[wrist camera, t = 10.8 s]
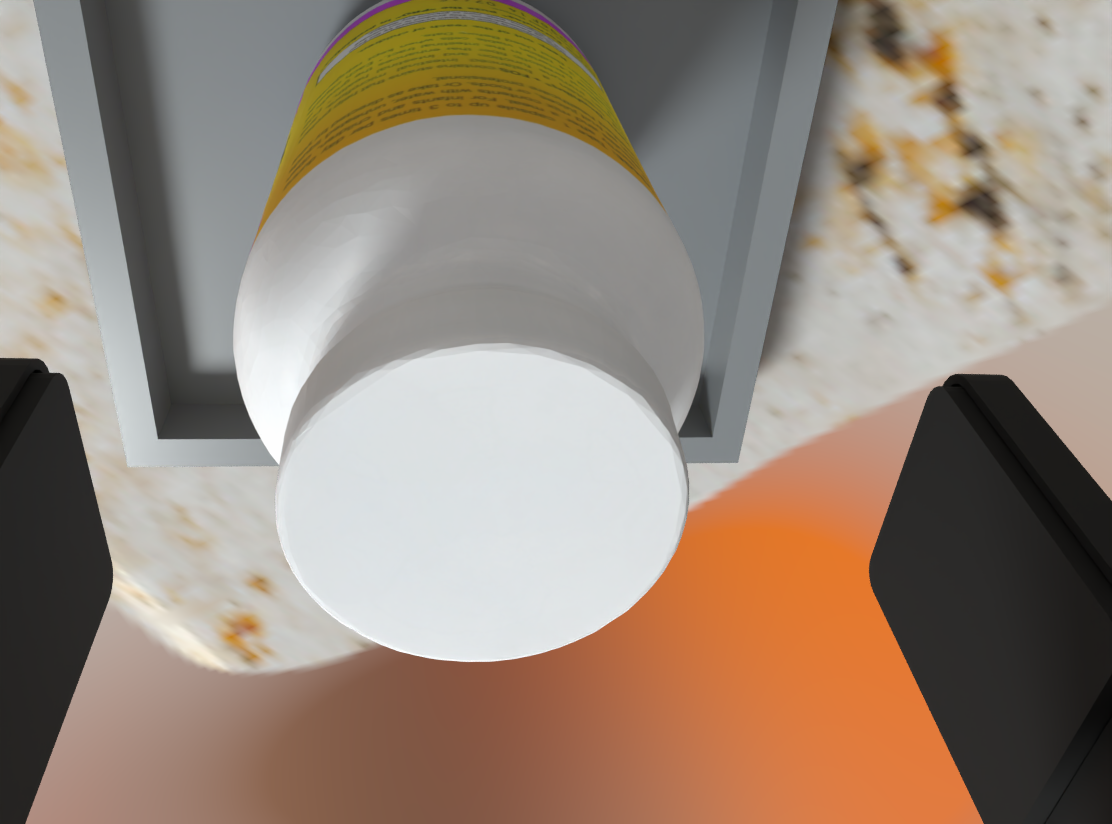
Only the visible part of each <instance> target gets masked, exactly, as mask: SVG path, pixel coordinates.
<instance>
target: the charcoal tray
mask: <svg viewBox="0 0 1112 824" xmlns="http://www.w3.org/2000/svg"><path fill="white" fill-rule="evenodd" d="M381 1H383V0H33V2H34V6H35V11H36V16H37V21H38V26H39V31H40V36H41V41H42V46H43V51H44V56H45V61H46V66H47V71H48V76H49V81H50V86H51V91H52V96H53V100H54V105H55V110H56V115H57V120H58V125H59V130H60V135H61V140H62V145H63V150H64V155H65V160H66V165H67V170H68V175H69V180H70V185H71V190H72V194H73V199H74V204H75V209H76V214H77V219H78V224H79V229H80V234H81V239H82V244H83V249H84V254H85V259H86V264H87V269H88V274H89V279H90V283H91V288H92V293H93V298H94V303H95V308H96V313H97V318H98V323H99V328H100V333H101V338H102V343H103V348H104V353H105V358H106V363H107V368H108V373H109V377H110V382H111V387H112V392H113V397H114V402H115V407H116V412H117V417H118V422H119V427H120V432H121V437H122V442H123V447H124V452H125V457H126V462H127V466H128V467H206V466H279V464H278V463H277V462H276V461H275V459H274V458H273V457H272V456H271V455H270V453H269V451H268V450H267V448H266V446H265V445H264V443H263V442H262V440H261V438H260V436H259V434H258V432H257V431H256V429H255V427H254V425H253V423H252V420H251V418H250V416H249V414H248V411H247V408H246V406H245V403H244V400H243V397H242V393H241V390H240V386H239V382H238V378H237V371H236V365H235V358H234V352H233V329H234V316H235V308H236V302H237V297H238V293H239V288H240V284H241V279H242V276H243V273H244V270H245V266H246V263H247V260H248V257H249V254H250V251H251V248H252V245H253V243H254V240H255V237H256V234H257V231H258V228H259V225H260V222H261V219H262V215H263V212H264V209H265V206H266V203H267V201H268V198H269V195H270V192H271V189H272V186H273V183H274V180H275V177H276V174H277V171H278V168H279V165H280V161H281V158H282V155H283V153H284V149H285V146H286V142H287V139H288V136H289V133H290V130H291V127H292V124H293V120H294V117H295V114H296V111H297V108H298V105H299V102H300V99H301V97H302V94H303V91H304V89H305V86H306V84H307V81H308V79H309V77H310V74H311V72H312V70H313V68H314V66H315V65H316V63H317V61H318V59H319V57H320V56H321V54H322V53H323V51H324V50H325V48H326V47H327V46H328V44H329V43H330V42H331V41H332V40H333V38H334V37H335V36H336V35H337V34H338V33H339V32H340V31H341V30H342V29H343V28H344V27H345V26H346V25H347V24H348V23H349V22H350V21H352V20H353V19H354V18H356V17H357V16H358V15H360V14H361V13H363V12H364V11H366V10H367V9H369V8H370V7H372V6H374V5H375V4H377V3H379V2H381ZM521 1H523V2H525V3H527V4H529V5H531V6H532V7H534V8H536V9H537V10H539V11H540V12H542V13H543V14H544V15H546V16H547V17H549V18H550V19H551V20H553V21H554V22H555V23H556V24H557V25H558V26H559V27H560V28H562V29H563V30H564V31H565V32H566V33H567V34H568V35H569V36H570V37H571V39H572V40H573V41H574V42H575V43H576V44H577V46H578V47H579V48H580V50H581V51H582V52H583V54H584V55H585V57H586V58H587V60H588V61H589V63H590V64H591V66H592V68H593V70H594V71H595V73H596V75H597V77H598V79H599V80H600V82H601V84H602V86H603V88H604V90H605V93H606V95H607V97H608V99H609V101H610V103H611V105H612V107H613V109H614V111H615V113H616V115H617V117H618V119H619V121H620V123H621V125H622V127H623V129H624V131H625V133H626V135H627V137H628V139H629V141H630V143H631V145H632V147H633V149H634V151H635V153H636V155H637V157H638V159H639V161H640V163H641V165H642V167H643V169H644V171H645V173H646V175H647V177H648V179H649V181H650V183H651V184H652V186H653V188H654V190H655V192H656V194H657V196H658V198H659V200H660V202H661V203H662V205H663V207H664V209H665V211H666V213H667V214H668V216H669V218H670V220H671V222H672V224H673V226H674V228H675V229H676V231H677V233H678V235H679V237H680V239H681V241H682V243H683V245H684V247H685V249H686V252H687V254H688V256H689V259H690V261H691V264H692V266H693V269H694V272H695V275H696V279H697V282H698V285H699V290H700V296H701V301H702V309H703V319H704V353H703V361H702V367H701V373H700V379H699V383H698V387H697V390H696V393H695V396H694V399H693V401H692V404H691V407H690V410H689V412H688V414H687V416H686V419H685V421H684V423H683V425H682V427H681V429H680V431H679V433H678V436H679V439H680V442H681V445H682V448H683V452H684V456H685V460H686V463H738V460H739V455H740V451H741V446H742V441H743V437H744V432H745V427H746V423H747V418H748V414H749V409H750V404H751V400H752V395H753V391H754V386H755V381H756V377H757V372H758V367H759V363H760V358H761V354H762V349H763V344H764V340H765V335H766V330H767V326H768V321H769V317H770V312H771V307H772V303H773V298H774V294H775V289H776V284H777V280H778V275H779V270H780V266H781V261H782V257H783V252H784V247H785V243H786V238H787V233H788V229H789V224H790V220H791V215H792V210H793V206H794V201H795V197H796V192H797V187H798V183H799V178H800V173H801V169H802V164H803V160H804V155H805V150H806V146H807V141H808V136H809V132H810V127H811V123H812V118H813V113H814V109H815V104H816V100H817V95H818V90H819V86H820V81H821V76H822V72H823V67H824V63H825V58H826V53H827V49H828V44H829V39H830V35H831V30H832V26H833V21H834V16H835V12H836V7H837V3H838V0H521Z"/></svg>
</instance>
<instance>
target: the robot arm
mask: <svg viewBox="0 0 1112 824" xmlns="http://www.w3.org/2000/svg"><path fill="white" fill-rule="evenodd" d="M869 577H870V583H871V587H872V589H873V592H874V594H875V596H876V598H877V600H878V602H879V605H880V607H881V609H882V611H883V613H884V615H885V617H886V619H887V621H888V623H889V626H890V627H891V630H892V632H893V634H894V636H895V638H896V640H897V642H898V644H899V646H900V649H901V651H902V653H903V655H904V657H905V659H906V661H907V663H908V665H909V668H910V670H911V672H912V674H913V676H914V678H915V680H916V682H917V684H918V686H919V689H920V691H921V693H922V695H923V697H924V699H925V701H926V703H927V705H928V707H929V710H930V711H931V714H932V716H933V718H934V720H935V722H936V724H937V726H938V728H939V731H940V733H941V735H942V737H943V739H944V741H945V743H946V745H947V747H948V749H949V751H950V754H951V756H952V758H953V760H954V762H955V764H956V766H957V768H958V770H959V772H960V775H961V777H962V779H963V781H964V783H965V785H966V787H967V789H968V791H969V793H970V795H971V798H972V800H973V802H974V804H975V806H976V808H977V810H978V812H979V814H980V816H981V818H982V821H983V823H984V824H1112V501H1111V500H1110V498H1109V497H1108V496H1107V495H1106V494H1105V492H1104V491H1103V490H1102V489H1101V488H1100V486H1099V485H1098V484H1097V483H1096V482H1095V480H1094V479H1093V478H1092V477H1091V475H1090V474H1089V473H1088V472H1087V471H1086V469H1085V468H1084V467H1083V466H1082V465H1081V463H1080V462H1079V461H1078V460H1077V458H1076V457H1075V456H1074V455H1073V454H1072V452H1071V451H1070V450H1069V449H1068V448H1067V447H1066V445H1065V444H1064V443H1063V442H1062V440H1061V439H1060V438H1059V437H1058V436H1057V434H1056V433H1055V432H1054V431H1053V429H1052V428H1051V427H1050V426H1049V425H1048V423H1047V422H1046V421H1045V420H1044V419H1043V417H1042V416H1041V415H1040V414H1039V413H1038V411H1037V410H1036V409H1035V408H1034V406H1033V405H1032V404H1031V403H1030V402H1029V400H1028V399H1027V398H1026V397H1025V396H1024V394H1023V393H1022V392H1021V391H1020V390H1019V388H1018V387H1017V386H1016V385H1015V384H1014V382H1013V381H1012V380H1010V379H1009V378H1008V377H1007V376H1004V375H985V374H955V375H952V376H950V377H949V378H948V379H947V380H946V381H945V382H944V384H943V386H938V387H935V388H934V389H933V390H932V391H931V392H930V394H929V396H928V398H927V400H926V403H925V406H924V409H923V412H922V415H921V417H920V420H919V423H918V426H917V429H916V431H915V434H914V437H913V440H912V443H911V445H910V448H909V451H908V454H907V457H906V460H905V462H904V465H903V468H902V471H901V474H900V477H899V480H898V482H897V485H896V488H895V491H894V493H893V496H892V499H891V502H890V505H889V508H888V511H887V513H886V516H885V519H884V522H883V525H882V527H881V530H880V533H879V536H878V539H877V542H876V545H875V547H874V550H873V553H872V556H871V559H870V565H869ZM112 583H113V567H112V561H111V557H110V553H109V549H108V545H107V540H106V536H105V532H104V528H103V524H102V520H101V516H100V512H99V508H98V504H97V500H96V496H95V492H94V488H93V483H92V479H91V475H90V471H89V467H88V463H87V459H86V455H85V451H84V447H83V443H82V439H81V435H80V431H79V427H78V422H77V418H76V414H75V410H74V406H73V402H72V398H71V394H70V390H69V386H68V383H67V380H66V379H65V377H64V375H62V374H60V373H49V371H48V368H47V366H46V365H45V363H44V362H43V361H41V360H40V359H27V358H0V824H25V823H26V820H27V817H28V815H29V812H30V809H31V807H32V804H33V801H34V799H35V796H36V793H37V791H38V788H39V785H40V783H41V780H42V777H43V774H44V772H45V769H46V767H47V764H48V761H49V758H50V756H51V753H52V750H53V748H54V745H55V742H56V740H57V737H58V734H59V732H60V729H61V726H62V723H63V721H64V718H65V716H66V713H67V710H68V708H69V705H70V702H71V699H72V697H73V694H74V692H75V689H76V686H77V684H78V681H79V678H80V676H81V673H82V670H83V668H84V665H85V662H86V660H87V657H88V654H89V651H90V649H91V646H92V644H93V641H94V638H95V636H96V633H97V630H98V628H99V625H100V622H101V619H102V617H103V614H104V611H105V609H106V606H107V603H108V601H109V598H110V594H111V590H112Z"/></svg>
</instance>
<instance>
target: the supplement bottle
mask: <svg viewBox="0 0 1112 824" xmlns="http://www.w3.org/2000/svg"><path fill="white" fill-rule="evenodd" d="M233 352H234V358H235V365H236V371H237V378H238V382H239V386H240V390H241V393H242V397H243V400H244V403H245V406H246V408H247V411H248V414H249V416H250V418H251V420H252V423H253V425H254V427H255V429H256V431H257V432H258V434H259V436H260V438H261V440H262V442H263V443H264V445H265V446H266V448H267V450H268V451H269V453H270V455H271V456H272V457H273V458H274V459H275V461H276V462H277V463H278V464H279V470H278V477H277V484H276V490H275V514H276V526H277V531H278V535H279V539H280V543H281V546H282V549H283V552H284V555H285V557H286V560H287V561H288V563H289V565H290V567H291V569H292V571H293V573H294V574H295V576H296V577H297V579H298V581H299V582H300V584H301V585H302V586H303V587H304V589H305V590H306V591H307V592H308V593H309V595H310V596H311V597H312V598H313V599H314V600H315V601H316V602H317V603H318V604H319V606H321V607H322V608H323V609H324V610H325V611H326V612H328V613H329V614H330V615H331V616H333V617H334V618H335V619H336V620H338V621H339V622H341V623H342V624H344V625H345V626H347V627H349V628H350V629H352V630H354V631H355V632H357V633H359V634H361V635H363V636H365V637H366V638H368V639H370V640H372V641H374V642H376V643H378V644H381V645H383V646H386V647H389V648H392V649H394V650H397V651H400V652H404V653H408V654H412V655H416V656H421V657H426V658H432V659H439V660H451V661H464V662H477V661H479V662H480V661H481V662H486V661H487V662H488V661H499V660H509V659H516V658H521V657H526V656H530V655H535V654H540V653H543V652H546V651H549V650H552V649H556V648H559V647H562V646H564V645H567V644H569V643H572V642H575V641H577V640H579V639H581V638H583V637H585V636H587V635H589V634H591V633H594V632H596V631H597V630H599V629H600V628H602V627H603V626H605V625H606V624H608V623H609V622H611V621H612V620H614V619H615V618H617V617H618V616H620V615H622V614H623V613H624V612H626V611H628V610H629V609H630V608H631V607H632V606H633V605H634V604H635V603H636V602H637V601H638V600H639V599H640V598H641V597H642V596H643V595H644V594H645V593H646V592H647V591H648V590H649V589H650V588H651V587H652V586H653V584H654V583H655V582H656V581H657V580H658V578H659V577H660V576H661V574H662V573H663V571H664V570H665V569H666V567H667V565H668V563H669V561H670V559H671V558H672V556H673V554H674V553H675V551H676V549H677V546H678V544H679V541H680V538H681V536H682V532H683V529H684V526H685V522H686V519H687V512H688V505H689V477H688V470H687V464H686V460H685V456H684V452H683V448H682V445H681V442H680V439H679V436H678V433H679V431H680V429H681V427H682V425H683V423H684V421H685V419H686V416H687V414H688V412H689V410H690V407H691V404H692V401H693V399H694V396H695V393H696V390H697V387H698V383H699V379H700V373H701V367H702V361H703V353H704V319H703V309H702V301H701V296H700V290H699V285H698V282H697V279H696V275H695V272H694V269H693V266H692V264H691V261H690V259H689V256H688V254H687V252H686V249H685V247H684V245H683V243H682V241H681V239H680V237H679V235H678V233H677V231H676V229H675V228H674V226H673V224H672V222H671V220H670V218H669V216H668V214H667V213H666V211H665V209H664V207H663V205H662V203H661V202H660V200H659V198H658V196H657V194H656V192H655V190H654V188H653V186H652V184H651V183H650V181H649V179H648V177H647V175H646V173H645V171H644V169H643V167H642V165H641V163H640V161H639V159H638V157H637V155H636V153H635V151H634V149H633V147H632V145H631V143H630V141H629V139H628V137H627V135H626V133H625V131H624V129H623V127H622V125H621V123H620V121H619V119H618V117H617V115H616V113H615V111H614V109H613V107H612V105H611V103H610V101H609V99H608V97H607V95H606V93H605V90H604V88H603V86H602V84H601V82H600V80H599V79H598V77H597V75H596V73H595V71H594V70H593V68H592V66H591V64H590V63H589V61H588V60H587V58H586V57H585V55H584V54H583V52H582V51H581V50H580V48H579V47H578V46H577V44H576V43H575V42H574V41H573V40H572V39H571V37H570V36H569V35H568V34H567V33H566V32H565V31H564V30H563V29H562V28H560V27H559V26H558V25H557V24H556V23H555V22H554V21H553V20H551V19H550V18H549V17H547V16H546V15H544V14H543V13H542V12H540V11H539V10H537V9H536V8H534V7H532V6H531V5H529V4H527V3H525V2H523V1H521V0H383V1H381V2H379V3H377V4H375V5H374V6H372V7H370V8H369V9H367V10H366V11H364V12H363V13H361V14H360V15H358V16H357V17H356V18H354V19H353V20H352V21H350V22H349V23H348V24H347V25H346V26H345V27H344V28H343V29H342V30H341V31H340V32H339V33H338V34H337V35H336V36H335V37H334V38H333V40H332V41H331V42H330V43H329V44H328V46H327V47H326V48H325V50H324V51H323V53H322V54H321V56H320V57H319V59H318V61H317V63H316V65H315V66H314V68H313V70H312V72H311V74H310V77H309V79H308V81H307V84H306V86H305V89H304V91H303V94H302V97H301V99H300V102H299V105H298V108H297V111H296V114H295V117H294V120H293V124H292V127H291V130H290V133H289V136H288V139H287V142H286V146H285V149H284V153H283V155H282V158H281V161H280V165H279V168H278V171H277V174H276V177H275V180H274V183H273V186H272V189H271V192H270V195H269V198H268V201H267V203H266V206H265V209H264V212H263V215H262V219H261V222H260V225H259V228H258V231H257V234H256V237H255V240H254V243H253V245H252V248H251V251H250V254H249V257H248V260H247V263H246V266H245V270H244V273H243V276H242V279H241V284H240V288H239V293H238V297H237V302H236V308H235V316H234V329H233Z"/></svg>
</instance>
